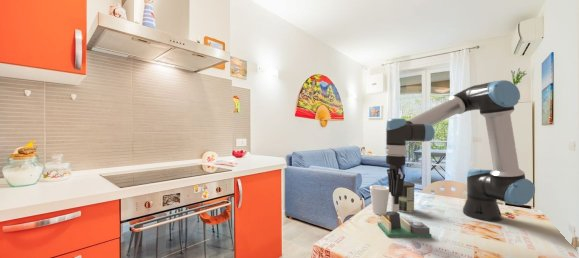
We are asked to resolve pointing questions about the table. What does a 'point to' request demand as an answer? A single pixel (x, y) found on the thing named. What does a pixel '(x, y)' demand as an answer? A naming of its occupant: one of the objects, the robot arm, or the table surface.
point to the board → (405, 229)
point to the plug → (394, 219)
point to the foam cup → (379, 199)
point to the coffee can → (407, 198)
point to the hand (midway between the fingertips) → (395, 211)
